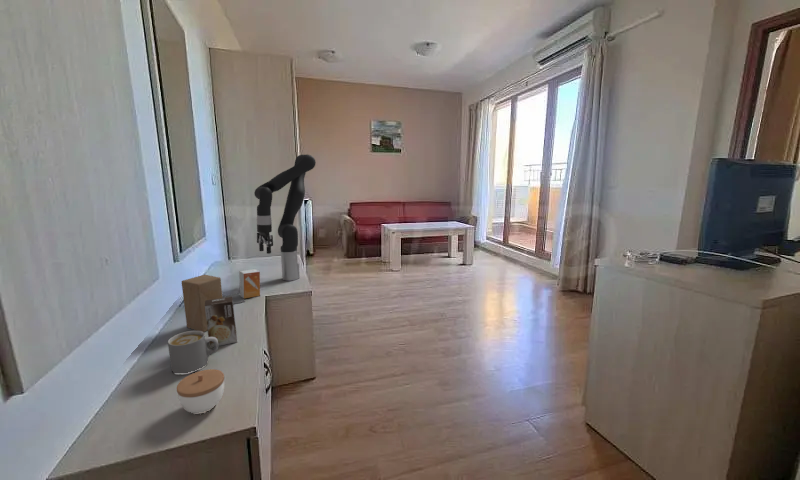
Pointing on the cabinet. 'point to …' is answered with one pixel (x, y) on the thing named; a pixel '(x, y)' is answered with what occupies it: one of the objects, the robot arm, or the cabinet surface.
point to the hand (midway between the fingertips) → (265, 252)
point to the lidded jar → (201, 390)
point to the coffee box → (221, 320)
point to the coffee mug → (190, 351)
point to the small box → (249, 283)
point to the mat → (235, 298)
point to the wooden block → (199, 299)
